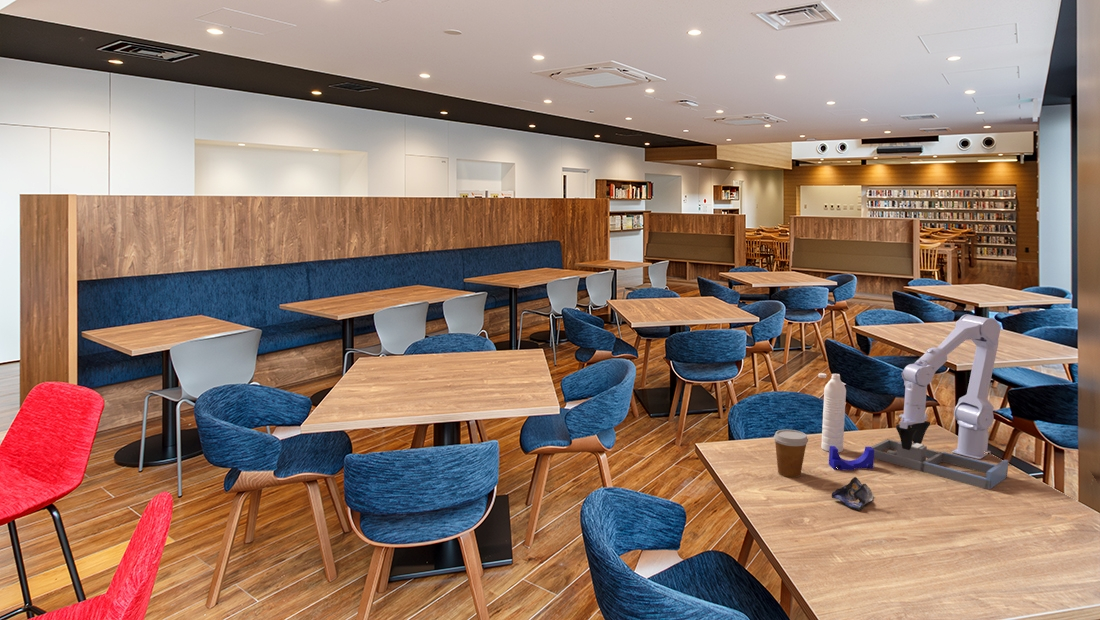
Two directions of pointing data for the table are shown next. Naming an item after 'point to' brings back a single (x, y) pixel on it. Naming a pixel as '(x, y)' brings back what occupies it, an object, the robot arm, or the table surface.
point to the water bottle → (833, 413)
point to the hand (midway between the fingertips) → (911, 446)
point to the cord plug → (911, 452)
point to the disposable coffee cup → (790, 451)
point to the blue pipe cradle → (862, 462)
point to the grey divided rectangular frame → (930, 466)
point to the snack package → (854, 494)
